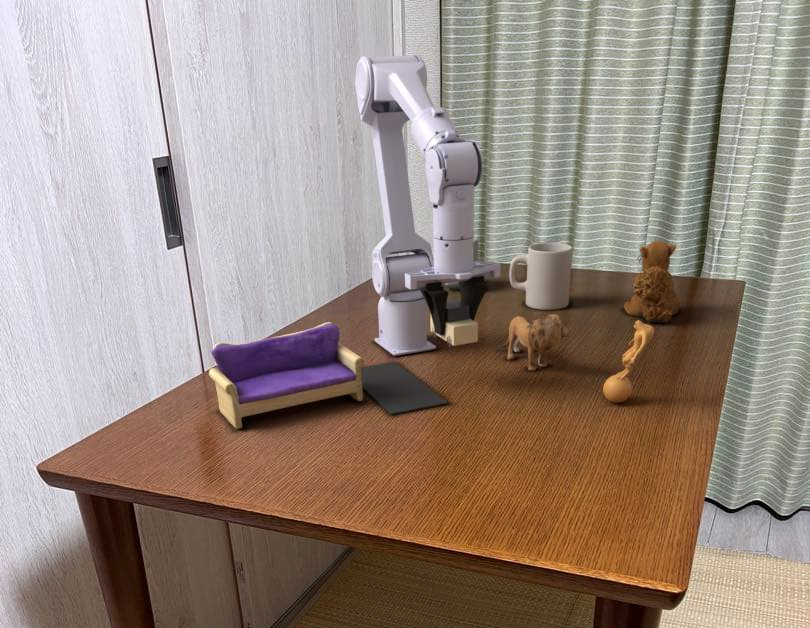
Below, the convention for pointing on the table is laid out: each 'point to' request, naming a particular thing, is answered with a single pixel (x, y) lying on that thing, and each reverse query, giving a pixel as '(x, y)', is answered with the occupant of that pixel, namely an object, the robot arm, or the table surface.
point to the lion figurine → (535, 337)
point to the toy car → (457, 324)
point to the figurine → (627, 365)
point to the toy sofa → (284, 372)
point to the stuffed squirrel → (654, 285)
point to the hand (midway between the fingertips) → (453, 331)
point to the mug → (545, 275)
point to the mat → (398, 389)
